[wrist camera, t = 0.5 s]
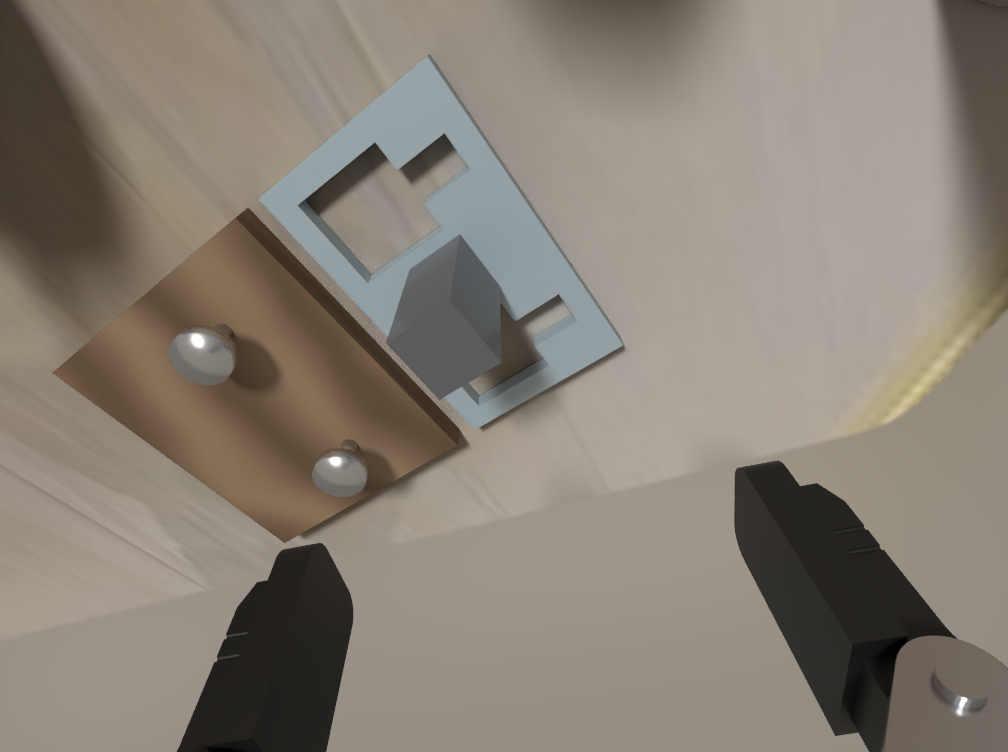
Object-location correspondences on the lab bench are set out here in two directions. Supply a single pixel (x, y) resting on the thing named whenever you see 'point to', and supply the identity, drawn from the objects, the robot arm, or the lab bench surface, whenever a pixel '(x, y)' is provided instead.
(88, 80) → the lab bench surface
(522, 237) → the keyhole panel
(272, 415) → the walnut board
